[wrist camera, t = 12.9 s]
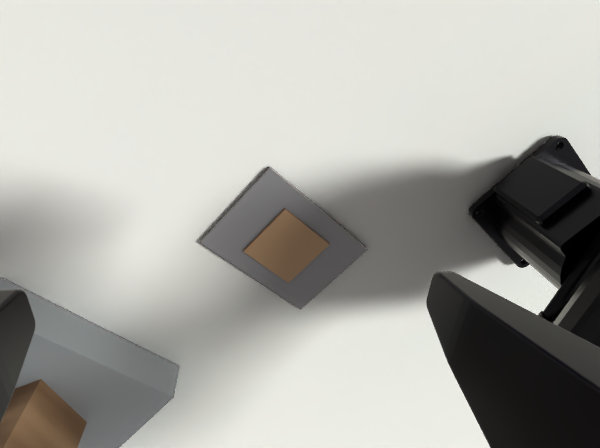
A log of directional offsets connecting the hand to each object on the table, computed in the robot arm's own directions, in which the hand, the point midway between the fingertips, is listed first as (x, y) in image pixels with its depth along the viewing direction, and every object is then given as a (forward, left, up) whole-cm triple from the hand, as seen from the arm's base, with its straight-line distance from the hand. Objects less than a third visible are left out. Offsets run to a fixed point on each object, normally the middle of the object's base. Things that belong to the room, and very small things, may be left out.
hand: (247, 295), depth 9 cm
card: (-6, +3, -13) cm, 15 cm away
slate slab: (-1, +21, -13) cm, 25 cm away
